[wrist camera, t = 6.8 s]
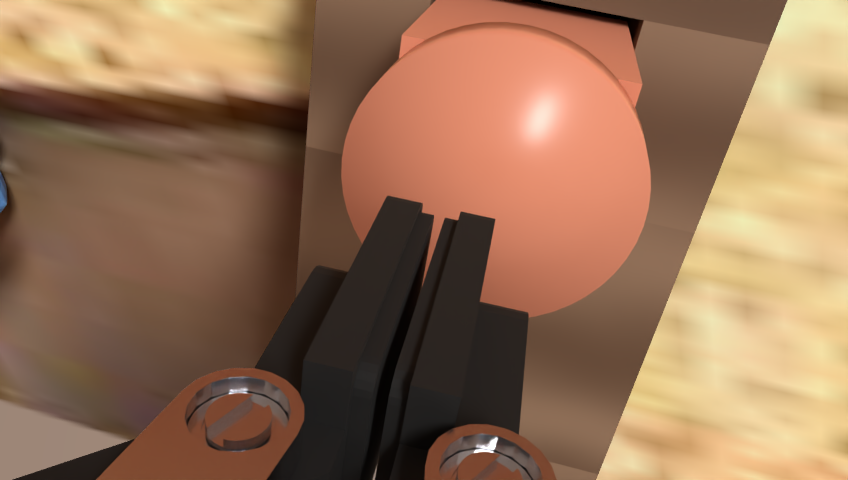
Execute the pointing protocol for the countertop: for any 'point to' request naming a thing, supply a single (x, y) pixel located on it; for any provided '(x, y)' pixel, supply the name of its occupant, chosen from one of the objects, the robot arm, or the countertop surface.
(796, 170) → the countertop surface
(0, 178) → the grapes
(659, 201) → the block
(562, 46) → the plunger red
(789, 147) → the countertop surface
